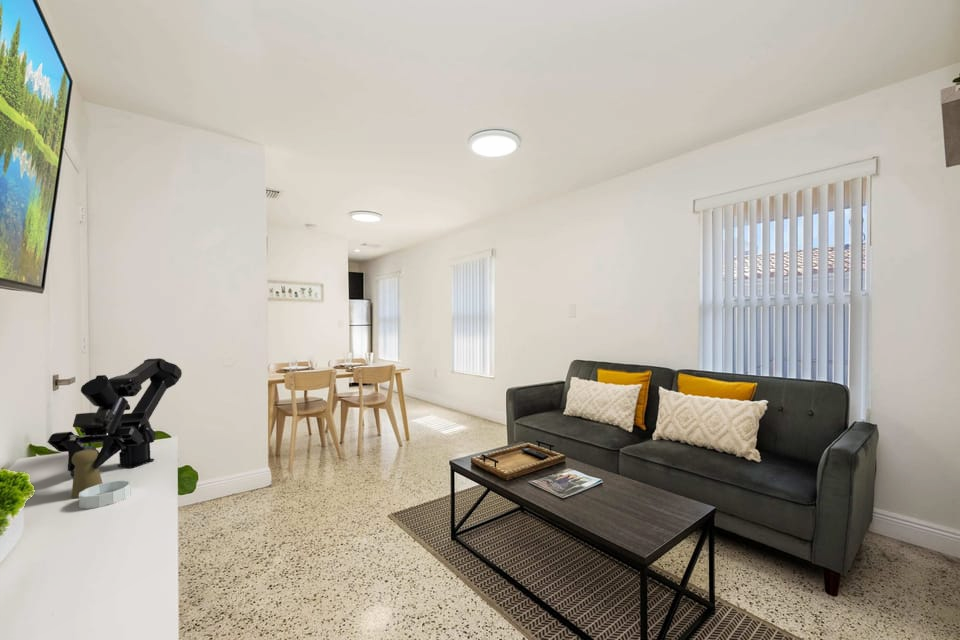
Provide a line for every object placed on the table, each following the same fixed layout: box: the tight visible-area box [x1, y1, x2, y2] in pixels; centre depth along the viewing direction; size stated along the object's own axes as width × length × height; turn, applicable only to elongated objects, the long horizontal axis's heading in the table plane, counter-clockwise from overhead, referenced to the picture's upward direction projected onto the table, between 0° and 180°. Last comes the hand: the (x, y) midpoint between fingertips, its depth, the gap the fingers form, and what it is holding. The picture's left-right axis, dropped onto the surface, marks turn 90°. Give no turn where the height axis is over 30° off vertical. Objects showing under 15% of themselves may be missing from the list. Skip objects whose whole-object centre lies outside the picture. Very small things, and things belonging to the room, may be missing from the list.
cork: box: [70, 448, 103, 499], centre depth 106 cm, size 6×6×11 cm
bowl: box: [78, 479, 132, 510], centre depth 102 cm, size 9×9×3 cm
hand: (82, 469), depth 104 cm, fingers closed on cork, 5 cm apart
